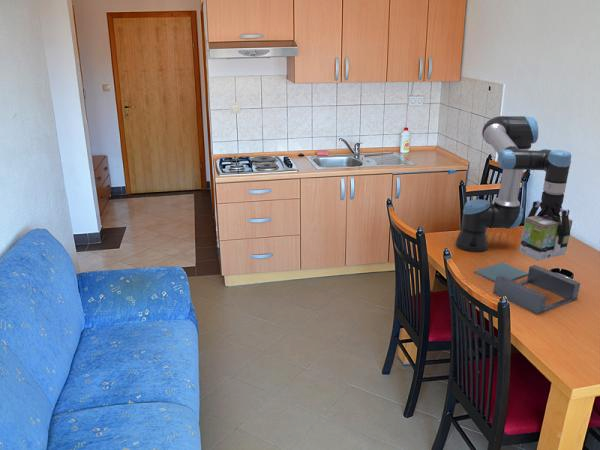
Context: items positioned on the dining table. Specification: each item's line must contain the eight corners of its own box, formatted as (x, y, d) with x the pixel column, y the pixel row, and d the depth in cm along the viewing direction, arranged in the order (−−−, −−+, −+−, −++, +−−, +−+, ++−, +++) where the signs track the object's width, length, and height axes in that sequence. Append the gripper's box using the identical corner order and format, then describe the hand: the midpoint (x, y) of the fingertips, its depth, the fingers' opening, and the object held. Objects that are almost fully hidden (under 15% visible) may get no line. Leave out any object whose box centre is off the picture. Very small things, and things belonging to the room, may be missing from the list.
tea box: (539, 261, 201) (546, 224, 196) (518, 252, 209) (524, 216, 204) (566, 254, 208) (573, 219, 203) (544, 246, 216) (550, 211, 211)
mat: (473, 272, 235) (474, 271, 235) (502, 263, 245) (502, 262, 244) (500, 284, 224) (500, 283, 224) (528, 275, 234) (529, 273, 233)
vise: (493, 293, 216) (495, 277, 214) (541, 276, 232) (544, 261, 230) (537, 314, 200) (541, 297, 198) (586, 295, 216) (590, 279, 214)
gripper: (521, 186, 207) (512, 239, 215) (576, 201, 189) (564, 258, 197) (533, 183, 211) (524, 235, 219) (588, 198, 193) (576, 254, 200)
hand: (543, 246), depth 208 cm, fingers closed on tea box, 10 cm apart
